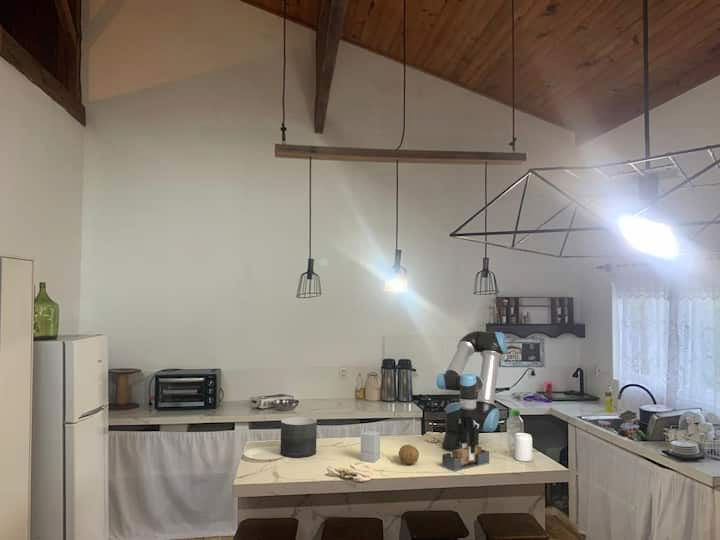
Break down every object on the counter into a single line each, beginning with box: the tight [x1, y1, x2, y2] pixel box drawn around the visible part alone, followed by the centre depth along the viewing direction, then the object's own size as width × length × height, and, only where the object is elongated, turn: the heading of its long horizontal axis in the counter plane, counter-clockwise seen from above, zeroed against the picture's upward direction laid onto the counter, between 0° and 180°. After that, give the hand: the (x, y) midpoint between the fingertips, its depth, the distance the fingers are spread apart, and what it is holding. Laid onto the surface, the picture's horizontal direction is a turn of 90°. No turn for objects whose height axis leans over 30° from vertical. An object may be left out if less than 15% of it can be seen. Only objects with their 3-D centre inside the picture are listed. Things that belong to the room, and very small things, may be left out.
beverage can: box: [514, 432, 533, 463], centre depth 256 cm, size 8×8×12 cm
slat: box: [451, 445, 483, 465], centre depth 247 cm, size 16×4×6 cm, turn 125°
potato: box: [398, 444, 420, 465], centre depth 249 cm, size 10×14×8 cm
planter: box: [280, 416, 318, 459], centre depth 264 cm, size 18×18×16 cm
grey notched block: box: [441, 448, 490, 473], centre depth 247 cm, size 22×8×6 cm, turn 124°
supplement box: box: [360, 430, 381, 463], centre depth 254 cm, size 7×7×13 cm
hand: (467, 458), depth 247 cm, fingers closed on slat, 4 cm apart
